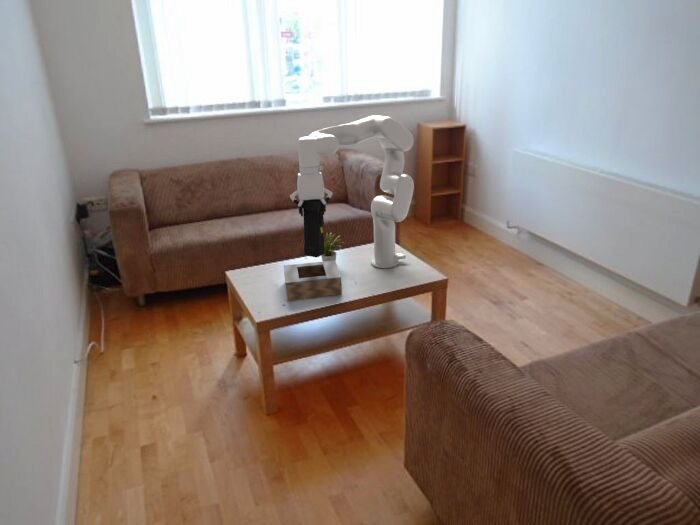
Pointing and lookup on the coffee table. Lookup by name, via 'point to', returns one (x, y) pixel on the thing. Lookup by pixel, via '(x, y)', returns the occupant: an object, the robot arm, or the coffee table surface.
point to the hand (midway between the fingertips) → (312, 214)
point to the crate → (312, 280)
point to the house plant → (330, 248)
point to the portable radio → (313, 228)
